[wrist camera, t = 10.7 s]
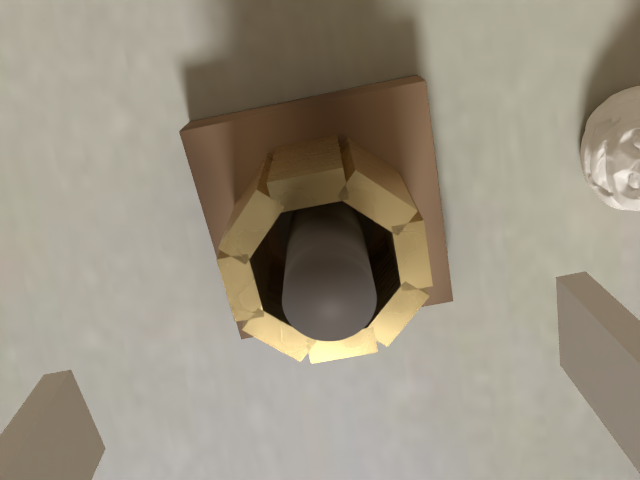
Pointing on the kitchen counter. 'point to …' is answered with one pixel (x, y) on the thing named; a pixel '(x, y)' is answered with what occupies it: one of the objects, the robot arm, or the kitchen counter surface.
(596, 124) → the garlic bulb
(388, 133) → the shaft block
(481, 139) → the kitchen counter surface
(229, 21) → the kitchen counter surface
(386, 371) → the kitchen counter surface
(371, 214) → the ring
